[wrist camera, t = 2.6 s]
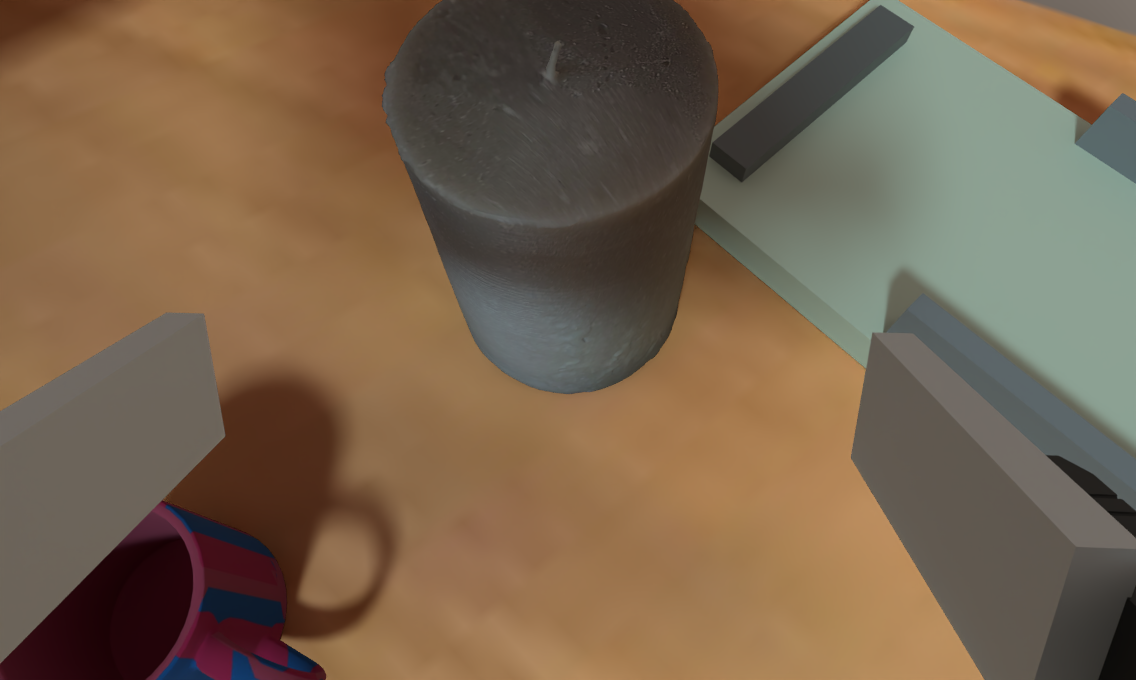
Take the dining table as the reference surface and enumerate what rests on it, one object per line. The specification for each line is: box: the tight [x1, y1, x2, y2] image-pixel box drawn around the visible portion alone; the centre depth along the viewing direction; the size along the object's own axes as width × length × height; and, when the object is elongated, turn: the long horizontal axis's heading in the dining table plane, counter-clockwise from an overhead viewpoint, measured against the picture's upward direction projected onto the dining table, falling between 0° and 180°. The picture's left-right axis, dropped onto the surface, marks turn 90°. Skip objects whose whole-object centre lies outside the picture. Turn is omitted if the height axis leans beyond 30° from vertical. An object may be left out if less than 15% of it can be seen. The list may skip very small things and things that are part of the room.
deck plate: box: [695, 0, 1136, 511], centre depth 32 cm, size 26×16×4 cm, turn 43°
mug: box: [0, 500, 326, 680], centre depth 25 cm, size 7×10×7 cm
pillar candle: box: [382, 0, 718, 394], centre depth 27 cm, size 10×10×15 cm
